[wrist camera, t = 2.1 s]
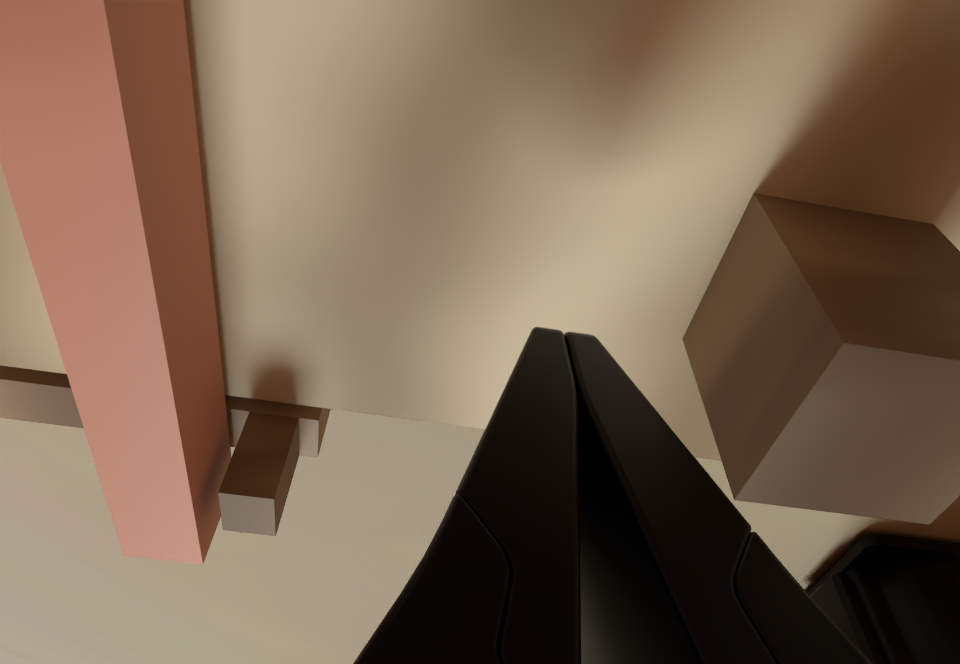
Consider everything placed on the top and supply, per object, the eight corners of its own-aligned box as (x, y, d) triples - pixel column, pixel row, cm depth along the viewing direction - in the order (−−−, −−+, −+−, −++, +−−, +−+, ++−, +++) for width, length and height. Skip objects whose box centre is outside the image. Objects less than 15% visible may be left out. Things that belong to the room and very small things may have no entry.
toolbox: (1086, -135, 12) (1593, -53, 6) (767, 374, 19) (869, 603, 14) (-191, -433, 10) (-1049, -685, 4) (30, 266, 18) (-175, 484, 12)
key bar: (128, -515, 6) (-5, -620, 4) (233, 481, 15) (202, 564, 13) (-58, -563, 6) (-268, -689, 4) (163, 472, 14) (123, 555, 13)
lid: (1178, 27, 10) (1564, 172, 6) (844, 444, 15) (944, 637, 12) (-335, -292, 8) (-1013, -341, 4) (-60, 320, 14) (-250, 508, 10)
